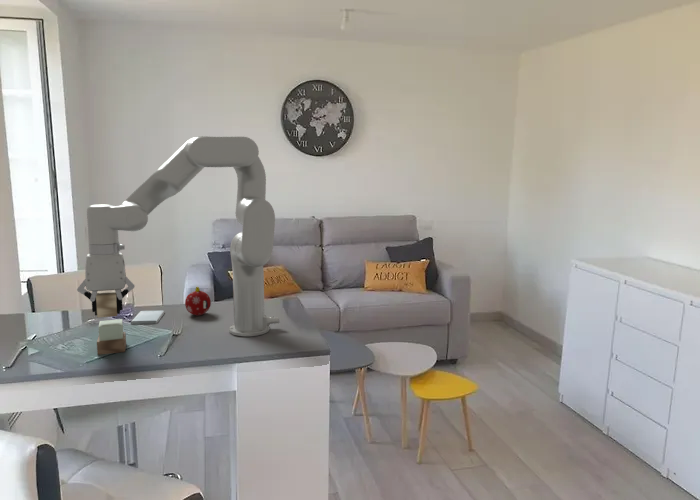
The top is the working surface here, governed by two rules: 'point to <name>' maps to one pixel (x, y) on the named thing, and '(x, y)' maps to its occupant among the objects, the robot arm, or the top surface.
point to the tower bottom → (111, 345)
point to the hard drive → (148, 317)
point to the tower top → (110, 329)
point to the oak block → (106, 304)
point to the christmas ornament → (197, 302)
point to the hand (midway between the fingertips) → (107, 312)
